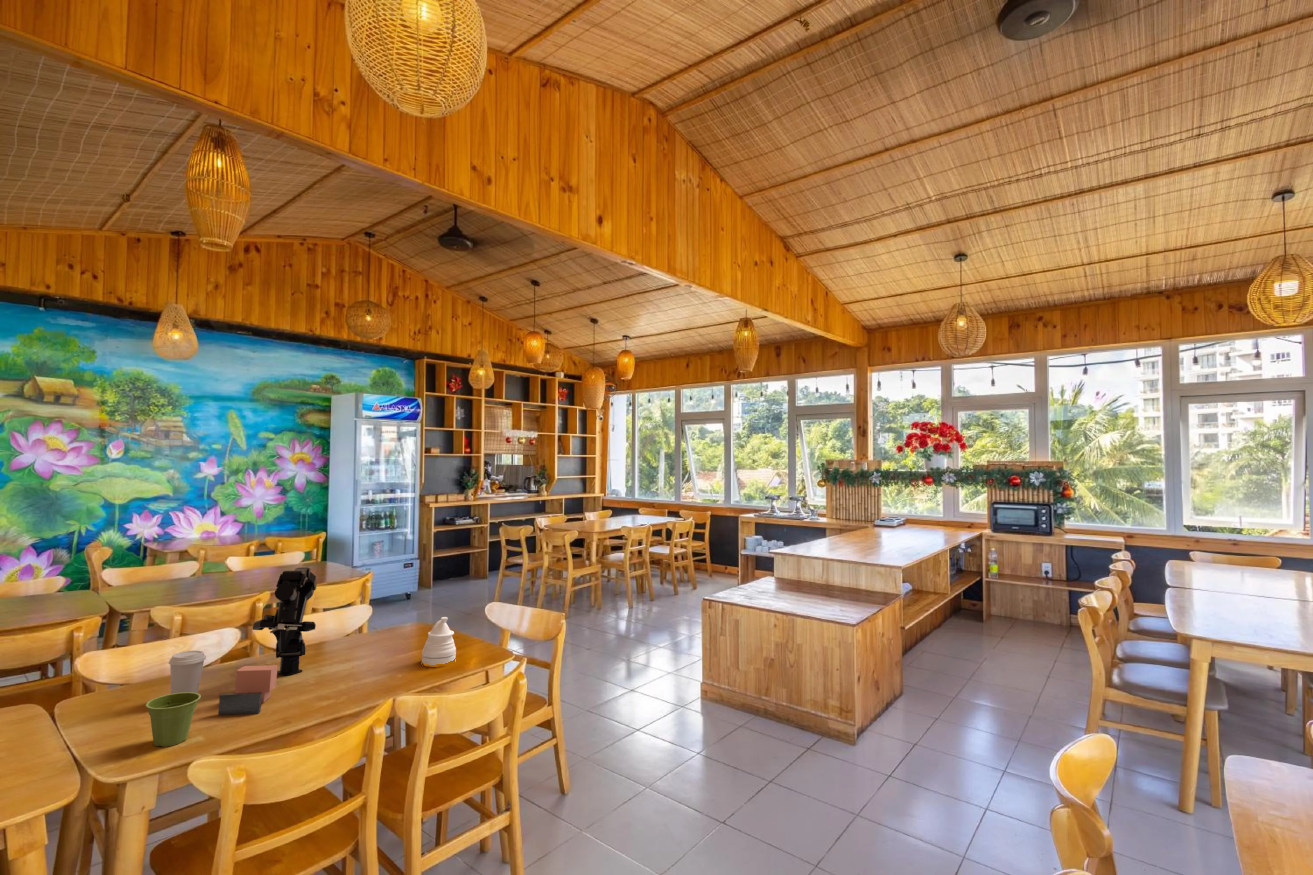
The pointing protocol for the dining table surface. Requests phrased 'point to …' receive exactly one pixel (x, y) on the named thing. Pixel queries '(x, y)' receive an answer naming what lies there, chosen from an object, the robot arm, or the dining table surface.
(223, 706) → the dark grey block
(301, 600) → the robot arm
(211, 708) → the dining table surface
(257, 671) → the reddish brown stepped block
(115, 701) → the dining table surface
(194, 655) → the coffee cup
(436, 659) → the honey pot
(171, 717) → the plant pot
